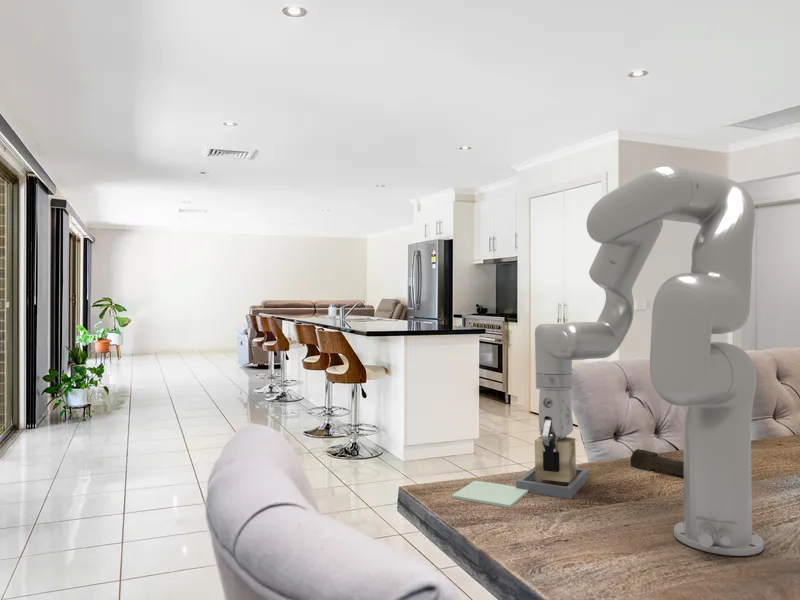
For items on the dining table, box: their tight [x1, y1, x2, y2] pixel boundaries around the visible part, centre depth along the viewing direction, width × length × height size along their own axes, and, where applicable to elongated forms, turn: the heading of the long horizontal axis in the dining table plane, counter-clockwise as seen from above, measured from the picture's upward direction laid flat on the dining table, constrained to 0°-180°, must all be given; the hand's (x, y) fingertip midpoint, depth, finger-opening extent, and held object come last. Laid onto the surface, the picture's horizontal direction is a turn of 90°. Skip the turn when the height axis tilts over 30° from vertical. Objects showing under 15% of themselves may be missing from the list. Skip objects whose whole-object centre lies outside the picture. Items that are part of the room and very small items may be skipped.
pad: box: [451, 480, 528, 509], centre depth 118 cm, size 12×12×1 cm
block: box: [534, 435, 577, 484], centre depth 125 cm, size 6×7×8 cm
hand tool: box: [629, 448, 684, 478], centre depth 134 cm, size 19×4×5 cm, turn 38°
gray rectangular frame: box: [515, 466, 589, 500], centre depth 125 cm, size 16×11×2 cm
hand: (555, 466), depth 125 cm, fingers closed on block, 6 cm apart
